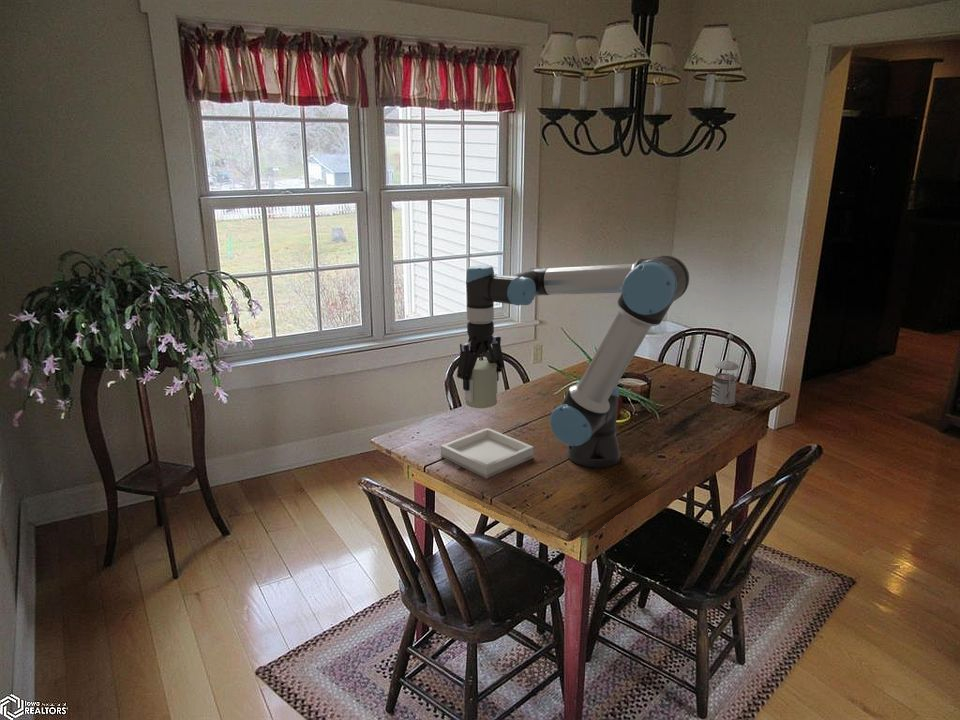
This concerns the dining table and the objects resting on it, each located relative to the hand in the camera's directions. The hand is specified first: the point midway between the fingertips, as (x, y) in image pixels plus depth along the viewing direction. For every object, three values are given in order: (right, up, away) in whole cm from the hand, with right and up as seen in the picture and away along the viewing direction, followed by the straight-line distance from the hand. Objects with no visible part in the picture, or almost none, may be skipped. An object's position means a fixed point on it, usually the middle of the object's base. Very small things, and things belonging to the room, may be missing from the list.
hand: (481, 396), depth 199 cm
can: (0, -2, +1) cm, 2 cm away
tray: (+2, -18, 0) cm, 18 cm away
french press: (+85, -5, +43) cm, 96 cm away
